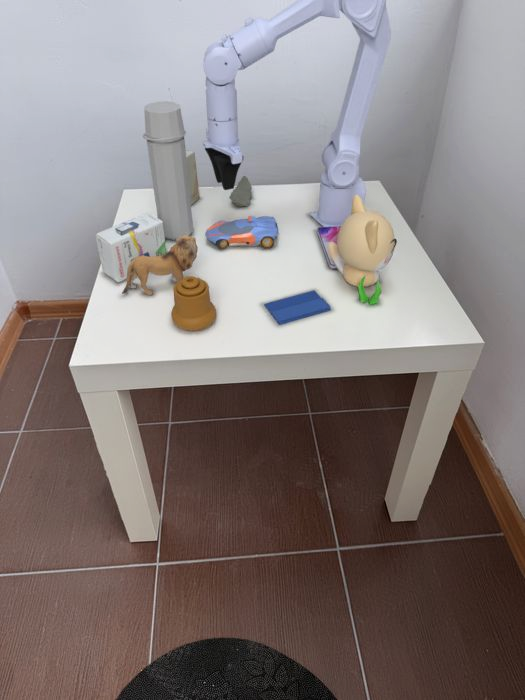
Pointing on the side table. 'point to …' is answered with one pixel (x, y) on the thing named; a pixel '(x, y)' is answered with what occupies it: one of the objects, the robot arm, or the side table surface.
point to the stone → (242, 193)
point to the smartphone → (328, 241)
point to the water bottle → (169, 167)
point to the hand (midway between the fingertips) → (225, 185)
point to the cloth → (297, 307)
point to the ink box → (130, 244)
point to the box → (192, 176)
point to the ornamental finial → (192, 304)
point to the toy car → (244, 232)
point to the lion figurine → (163, 263)
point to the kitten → (363, 248)
